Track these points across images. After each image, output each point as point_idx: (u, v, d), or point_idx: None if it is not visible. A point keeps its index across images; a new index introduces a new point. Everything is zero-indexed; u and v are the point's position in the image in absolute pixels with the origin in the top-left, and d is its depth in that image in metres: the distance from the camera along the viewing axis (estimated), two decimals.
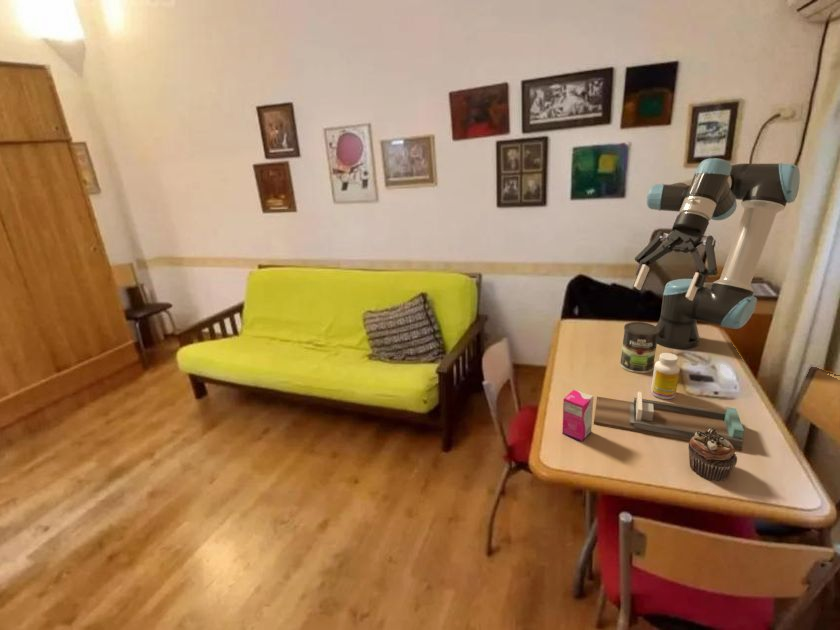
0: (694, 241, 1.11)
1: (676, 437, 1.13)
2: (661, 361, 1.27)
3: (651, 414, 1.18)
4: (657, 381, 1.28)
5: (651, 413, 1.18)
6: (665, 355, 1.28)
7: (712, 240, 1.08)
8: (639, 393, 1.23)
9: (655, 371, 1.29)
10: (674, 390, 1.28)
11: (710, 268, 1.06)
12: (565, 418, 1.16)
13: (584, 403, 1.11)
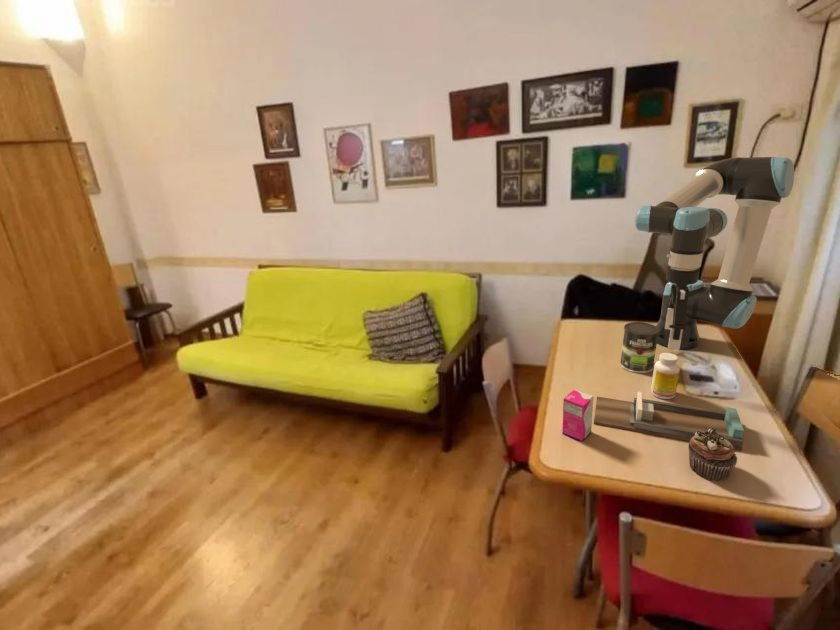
0: (676, 294, 1.17)
1: (676, 437, 1.13)
2: (661, 361, 1.27)
3: (651, 414, 1.18)
4: (657, 381, 1.28)
5: (651, 413, 1.18)
6: (665, 354, 1.28)
7: (679, 296, 1.13)
8: (639, 393, 1.23)
9: (655, 371, 1.29)
10: (674, 390, 1.28)
11: (673, 325, 1.14)
12: (565, 418, 1.16)
13: (584, 403, 1.11)
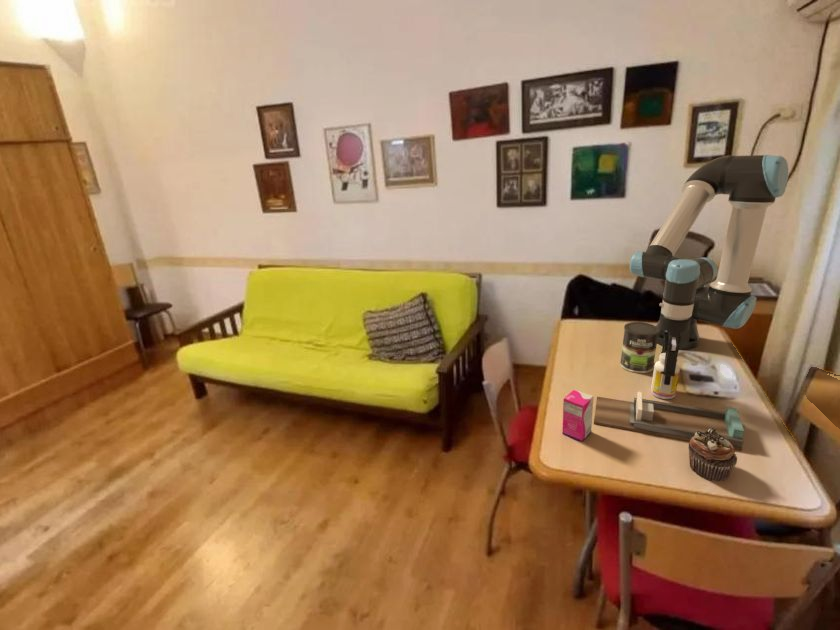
0: (668, 341, 1.22)
1: (676, 437, 1.13)
2: (661, 361, 1.27)
3: (651, 414, 1.18)
4: (657, 381, 1.28)
5: (651, 413, 1.18)
6: (665, 354, 1.28)
7: (670, 348, 1.20)
8: (639, 393, 1.23)
9: (655, 371, 1.28)
10: (674, 390, 1.28)
11: (664, 371, 1.23)
12: (565, 418, 1.16)
13: (584, 403, 1.11)
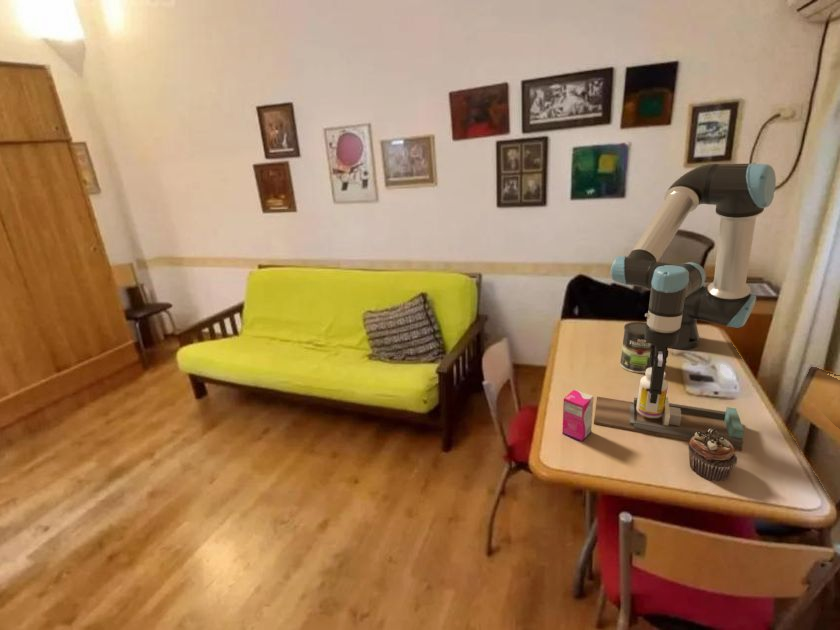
0: (654, 355, 1.11)
1: (676, 437, 1.13)
2: (647, 377, 1.15)
3: (679, 419, 1.15)
4: (643, 398, 1.17)
5: (679, 418, 1.15)
6: (651, 369, 1.16)
7: (656, 363, 1.08)
8: None
9: (641, 388, 1.17)
10: (661, 408, 1.16)
11: (650, 389, 1.11)
12: (565, 418, 1.16)
13: (584, 403, 1.11)
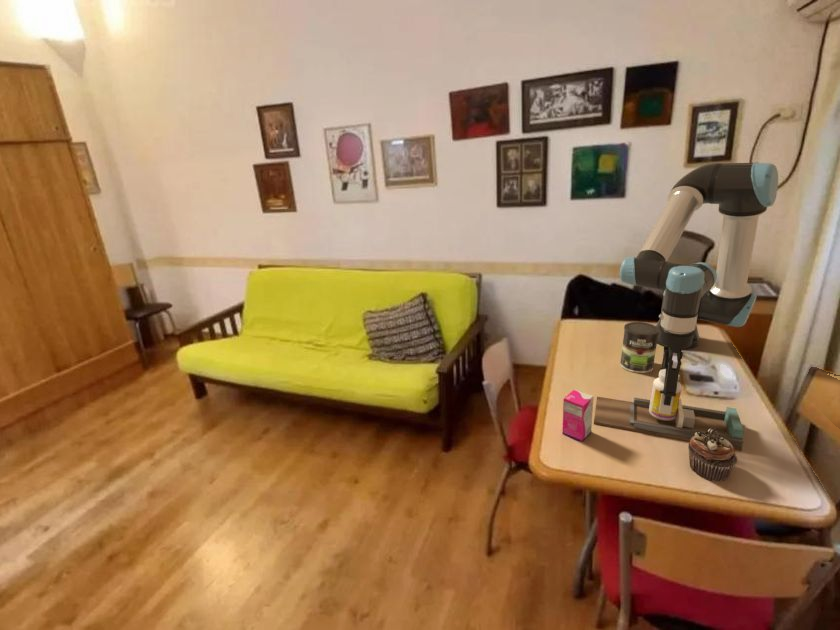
0: (668, 357, 1.09)
1: (676, 437, 1.13)
2: (661, 379, 1.14)
3: (692, 421, 1.14)
4: (656, 400, 1.16)
5: (692, 420, 1.14)
6: (665, 371, 1.15)
7: (671, 365, 1.07)
8: None
9: (654, 390, 1.16)
10: (675, 411, 1.15)
11: (664, 391, 1.10)
12: (565, 418, 1.16)
13: (584, 403, 1.11)
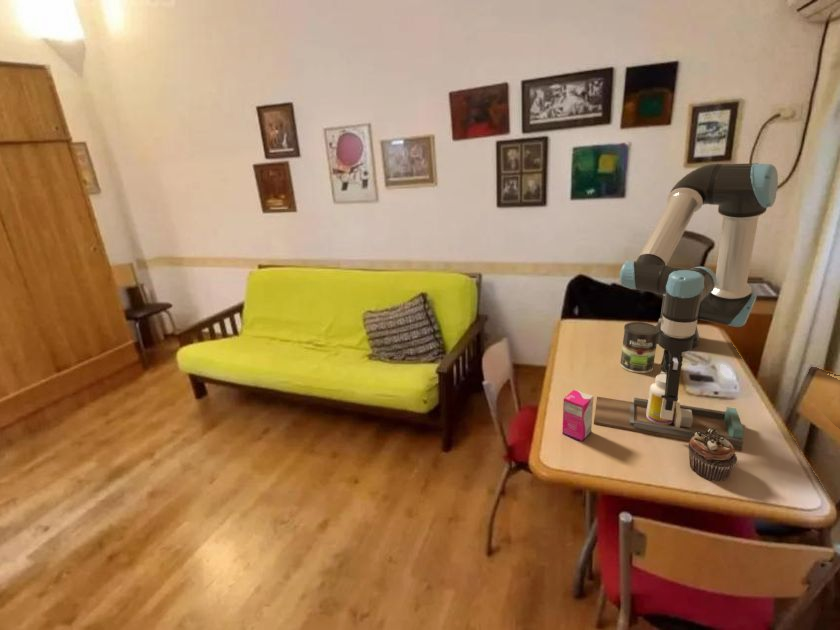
0: (668, 361, 1.10)
1: (676, 437, 1.13)
2: (657, 384, 1.15)
3: (690, 420, 1.14)
4: (653, 405, 1.16)
5: (690, 419, 1.14)
6: (662, 376, 1.16)
7: (672, 366, 1.06)
8: None
9: (651, 395, 1.16)
10: None
11: (665, 396, 1.08)
12: (565, 418, 1.16)
13: (584, 403, 1.11)
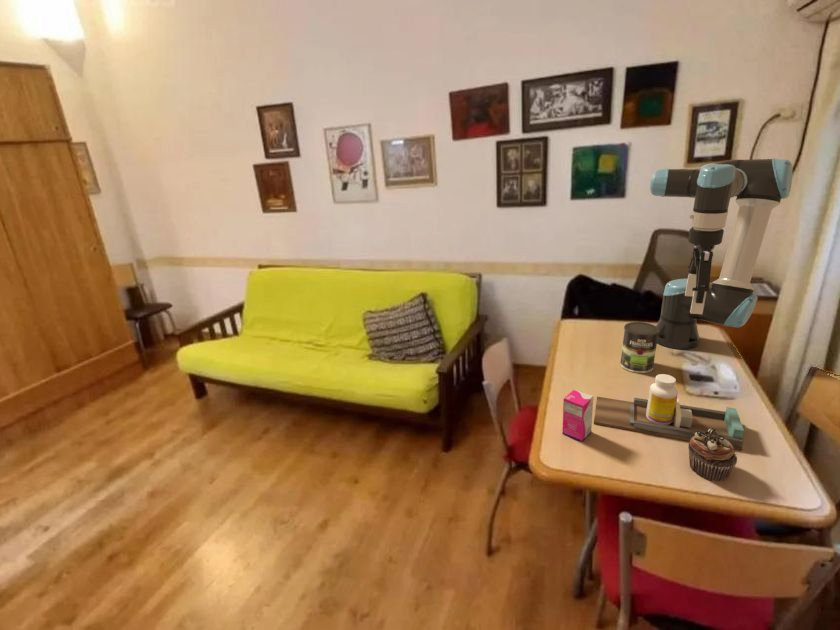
0: (699, 256, 1.13)
1: (676, 437, 1.13)
2: (657, 384, 1.15)
3: (690, 420, 1.14)
4: (653, 405, 1.16)
5: (690, 419, 1.14)
6: (661, 376, 1.16)
7: (703, 256, 1.10)
8: None
9: (651, 395, 1.17)
10: (671, 415, 1.16)
11: (697, 287, 1.11)
12: (565, 418, 1.16)
13: (584, 403, 1.11)
